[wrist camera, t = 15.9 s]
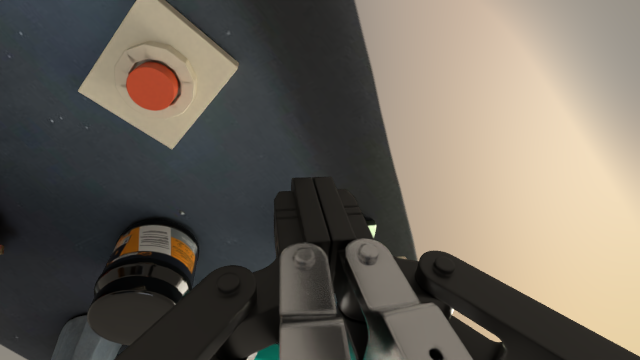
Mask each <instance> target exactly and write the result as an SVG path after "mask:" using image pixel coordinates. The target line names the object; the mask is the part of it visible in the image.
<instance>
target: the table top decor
mask: <svg viewBox="0 0 640 360" xmlns="http://www.w3.org/2000/svg"><path fill="white" fill-rule="evenodd" d="M278 353H279V345H277V344H273V345H271V346H269V347H267V348H265V349H262V350H260V351H258V353H257V355H256V357H255V359H254V360H278Z"/></svg>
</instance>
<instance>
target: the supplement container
mask: <svg viewBox="0 0 640 360" xmlns="http://www.w3.org/2000/svg"><path fill="white" fill-rule="evenodd" d="M198 257H199V246H198V243H197V240H196V239H195V237H194V236H193V234H192V233H191V232H190V231H189V230H187V229H186V228H184V227H183V226H181V225H179V224H176V223H174V222H170V221H165V220H147V221H142V222H139V223H136V224H134V225H132V226H131V227H129V228H128V229H126V230H125V231H124V232H123V233H122V234H121V236H120V237H119V239H118V241H117V243H116V246H115V248H114V250H113V252H112V254H111V256H110V258H109V260H108V262H107V264H106V266H105V268H104V270H103V272H102V274H101V275H100V276H99V278H98V280H97V282H96V284H95V287H94V299H93V301H92V303H91V305H90V307H89V309H88V313H87V321H88V324H89V326H90V327H91V329H92V330H93V331H94V332H95V333H96V334H97V335H99V336H100V337H102V338H104V339H106V340H108V341H111V342H114V343H118V344H123V345H131V344H132V343H133V342H134V341H135V340H136V339H137V338H139V337H140V336H141V335H142V334H143V333H144V332H145V331H146V330H147V329H149V328H150V327H151V326H152V325H153V324H154V323H155V322H156V321H157V320H159V319H160V318H161V317H162V316H163V315H164V314H165V313H166V312H167V311H169V310H170V309H171V308H172V307H173V306H174V305H175V304H176V303H177V302H179V301H180V300H181V299H182V298H183V297H184V296H185V295H186V294H187V293H189V292H190V291H191V290H192V286H193V281H194V275H195V270H196V265H197V261H198Z"/></svg>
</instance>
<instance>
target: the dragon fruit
mask: <svg viewBox="0 0 640 360" xmlns="http://www.w3.org/2000/svg"><path fill="white" fill-rule="evenodd" d="M3 249H4V246H3V245H1V244H0V255H1V254H4V250H3Z"/></svg>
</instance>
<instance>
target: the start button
mask: <svg viewBox="0 0 640 360" xmlns="http://www.w3.org/2000/svg"><path fill="white" fill-rule="evenodd" d="M126 88H127V92H128V94H129V96H130V97H131V99H132V100H133V101H134V102H135V103H136V104H137V105H139V106H140V107H142V108H144V109H147V110H152V111H158V110H163V109H165V108H167V107H168V106H169V105H170V104H171V103H172V102H173V100H174V98H175V97H176V95H177V93H178V81H177V79H176V77H175V75H174V73H173V72H172V71H171V70H170V69H169V68H167V67H166V66H164V65H162V64H160V63H156V62H146V63H143V64H141V65H139V66H138V67H137V68H135V69H134V70H133V71H132V72H131V73H130V74H129V75H128V77H127V81H126Z"/></svg>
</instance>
